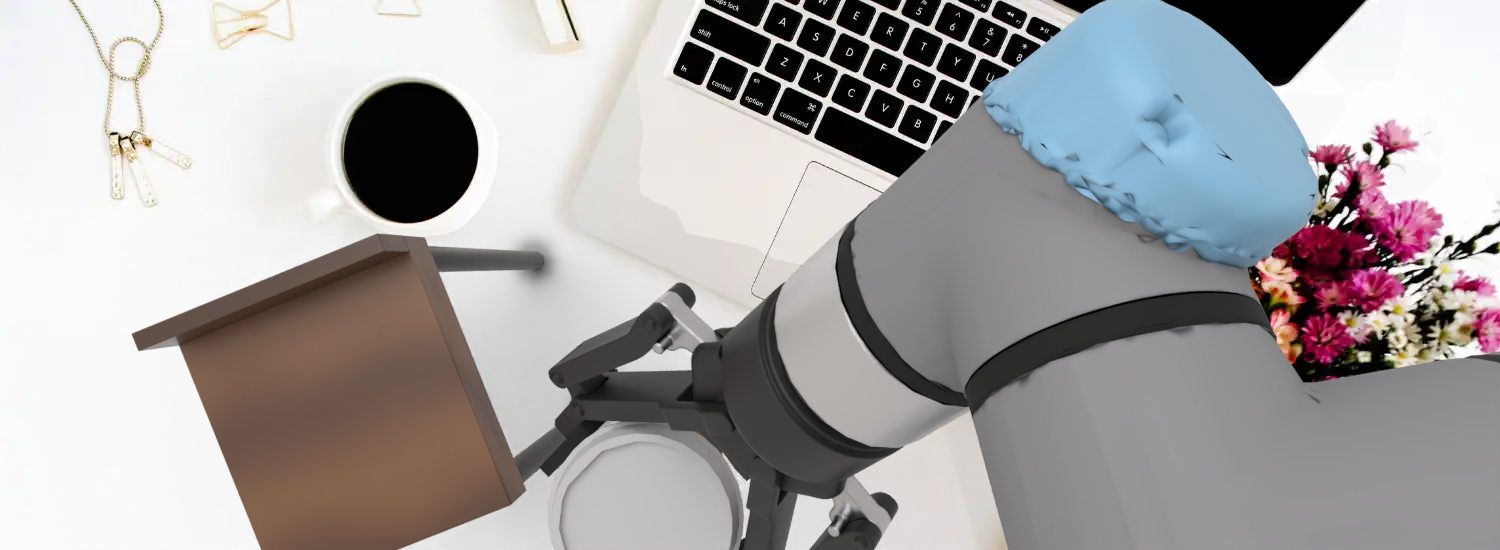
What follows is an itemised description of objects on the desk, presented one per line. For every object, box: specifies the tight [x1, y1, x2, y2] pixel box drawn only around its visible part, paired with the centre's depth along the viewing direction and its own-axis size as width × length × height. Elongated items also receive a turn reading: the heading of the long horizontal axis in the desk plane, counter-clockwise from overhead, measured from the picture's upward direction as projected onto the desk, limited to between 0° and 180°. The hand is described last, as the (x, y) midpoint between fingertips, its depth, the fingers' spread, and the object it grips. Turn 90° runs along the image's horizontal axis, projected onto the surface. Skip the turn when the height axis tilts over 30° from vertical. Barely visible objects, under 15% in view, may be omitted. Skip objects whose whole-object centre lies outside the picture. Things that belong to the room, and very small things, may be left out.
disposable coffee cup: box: [547, 421, 745, 550], centre depth 46 cm, size 10×10×12 cm
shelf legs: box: [428, 245, 567, 484], centre depth 62 cm, size 16×14×25 cm
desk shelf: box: [131, 232, 527, 550], centre depth 47 cm, size 16×14×6 cm
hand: (622, 521), depth 48 cm, fingers closed on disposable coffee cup, 9 cm apart
